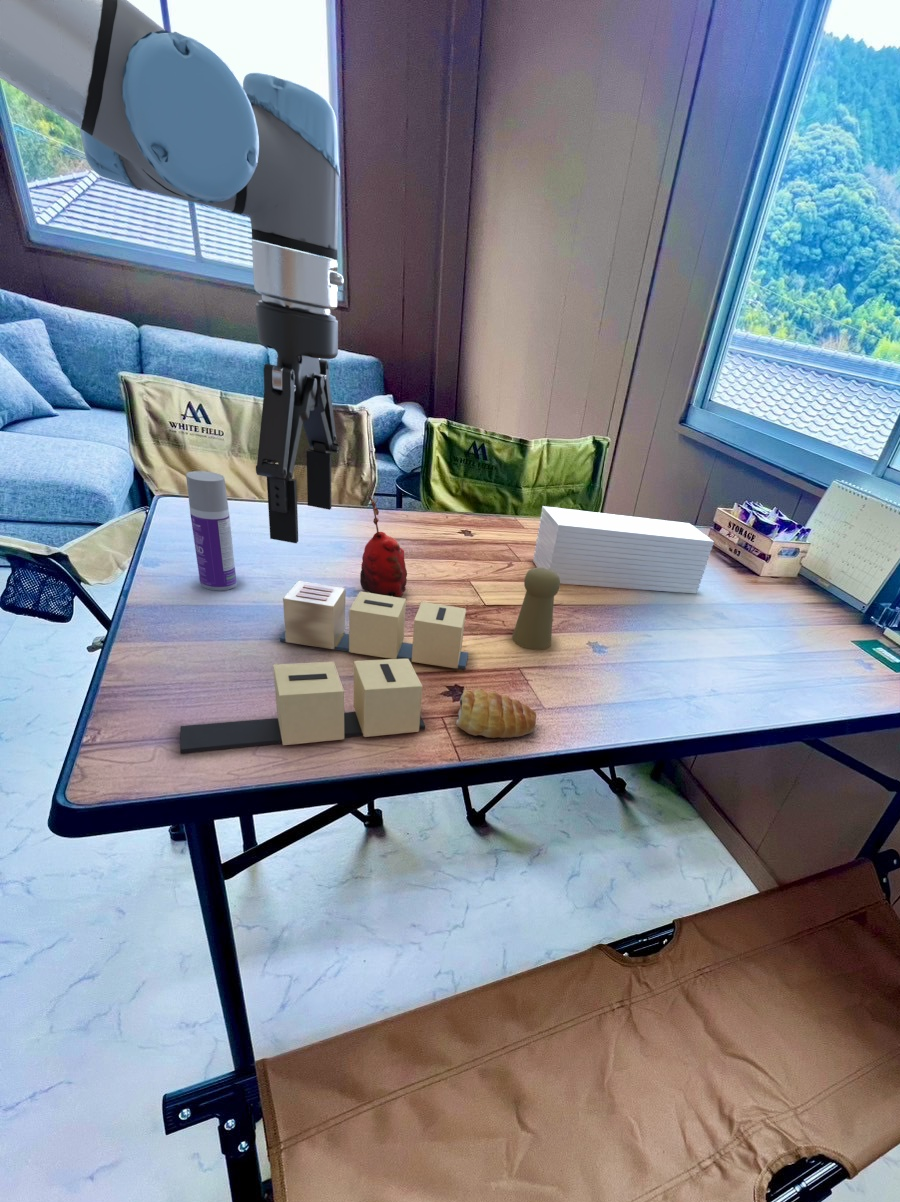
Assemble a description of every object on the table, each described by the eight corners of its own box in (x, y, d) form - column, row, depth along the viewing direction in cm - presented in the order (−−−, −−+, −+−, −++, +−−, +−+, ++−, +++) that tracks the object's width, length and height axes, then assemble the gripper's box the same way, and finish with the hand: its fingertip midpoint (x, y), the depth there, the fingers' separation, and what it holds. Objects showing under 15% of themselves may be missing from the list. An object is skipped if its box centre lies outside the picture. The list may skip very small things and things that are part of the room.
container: (192, 585, 88) (176, 475, 79) (213, 574, 92) (199, 468, 83) (224, 593, 88) (211, 483, 79) (243, 582, 92) (232, 476, 83)
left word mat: (180, 759, 59) (169, 701, 55) (181, 724, 63) (170, 668, 59) (427, 734, 70) (432, 684, 66) (413, 705, 74) (417, 656, 70)
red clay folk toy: (413, 599, 98) (419, 502, 89) (370, 602, 94) (372, 502, 86) (394, 580, 103) (398, 486, 94) (352, 582, 99) (352, 485, 90)
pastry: (532, 713, 77) (537, 687, 75) (536, 745, 72) (542, 719, 70) (456, 705, 76) (459, 678, 73) (455, 738, 70) (458, 710, 68)
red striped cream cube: (285, 642, 79) (282, 597, 76) (300, 622, 84) (298, 579, 80) (333, 649, 80) (333, 605, 76) (345, 629, 85) (345, 587, 81)
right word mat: (276, 644, 79) (273, 596, 75) (291, 624, 84) (289, 578, 80) (464, 673, 82) (470, 628, 79) (468, 652, 87) (473, 609, 83)
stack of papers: (674, 573, 133) (689, 523, 127) (696, 593, 125) (714, 541, 119) (532, 561, 123) (542, 505, 117) (547, 582, 115) (558, 524, 109)
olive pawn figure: (558, 642, 95) (573, 573, 89) (537, 653, 91) (551, 582, 85) (526, 627, 97) (538, 559, 91) (504, 638, 93) (515, 567, 87)
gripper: (297, 316, 51) (304, 564, 63) (364, 313, 71) (360, 501, 83) (201, 293, 50) (226, 550, 62) (297, 297, 70) (302, 490, 82)
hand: (303, 522), depth 73 cm, fingers open, 13 cm apart
